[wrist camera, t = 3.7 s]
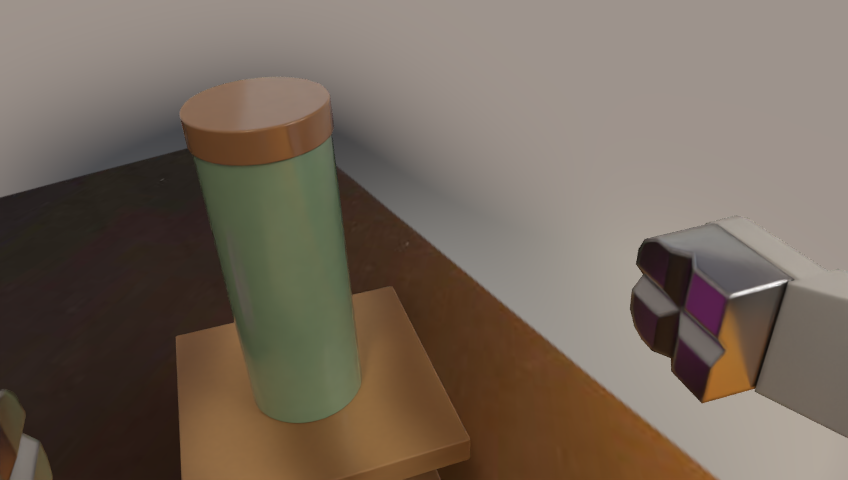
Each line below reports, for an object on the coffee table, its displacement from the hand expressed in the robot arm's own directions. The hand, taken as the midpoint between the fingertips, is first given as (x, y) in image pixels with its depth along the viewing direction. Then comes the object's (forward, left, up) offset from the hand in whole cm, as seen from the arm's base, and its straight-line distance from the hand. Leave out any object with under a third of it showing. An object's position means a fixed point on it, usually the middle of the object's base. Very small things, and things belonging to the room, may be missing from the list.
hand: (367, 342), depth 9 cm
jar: (0, -16, -15) cm, 22 cm away
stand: (0, -16, -21) cm, 27 cm away
